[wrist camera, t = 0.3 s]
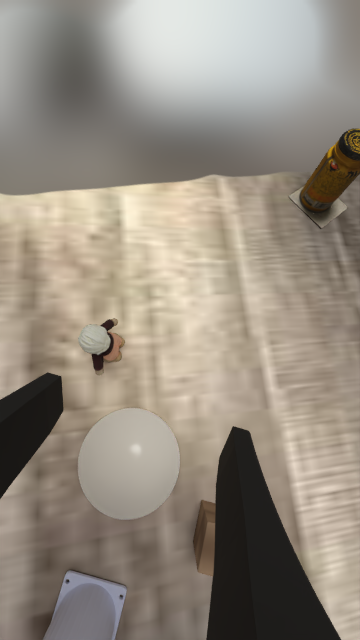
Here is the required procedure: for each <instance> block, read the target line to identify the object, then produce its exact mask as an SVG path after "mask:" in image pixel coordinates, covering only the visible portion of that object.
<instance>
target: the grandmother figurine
mask: <svg viewBox="0 0 360 640" xmlns="http://www.w3.org/2000/svg"><path fill="white" fill-rule="evenodd" d="M117 324H118V320H117V319H115V318H114V319H111V320H110V319H109V320H107V321H106V322H105V323H103V324H102V325H101V326H99V325H95V324H94V325H92V324H90V325H87V326H86V327H85V328H83V330H82V332H81V334H80V336H79V338H78V340H79V341H78V342H79V344H80V346H81V347H82V349H83V350H84V351H85V352H87V353H91V354H92V359H93V366H94V369H95V372H96V374H97V375H102V374H103V372H104V370H103V362H104V361H103V358H104V359H105V360H106V361H107V362H117V361H120V360H121V357H122V354H121V352H120V351H119V348H120V347H122V346H123V345H124V343H125V340H124V339H123V338H122V337H121V336H119V335H118V334H116V333H111V332H107V331H108V330H110V329H111V328H112V327H114V326H116V325H117Z"/></svg>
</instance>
